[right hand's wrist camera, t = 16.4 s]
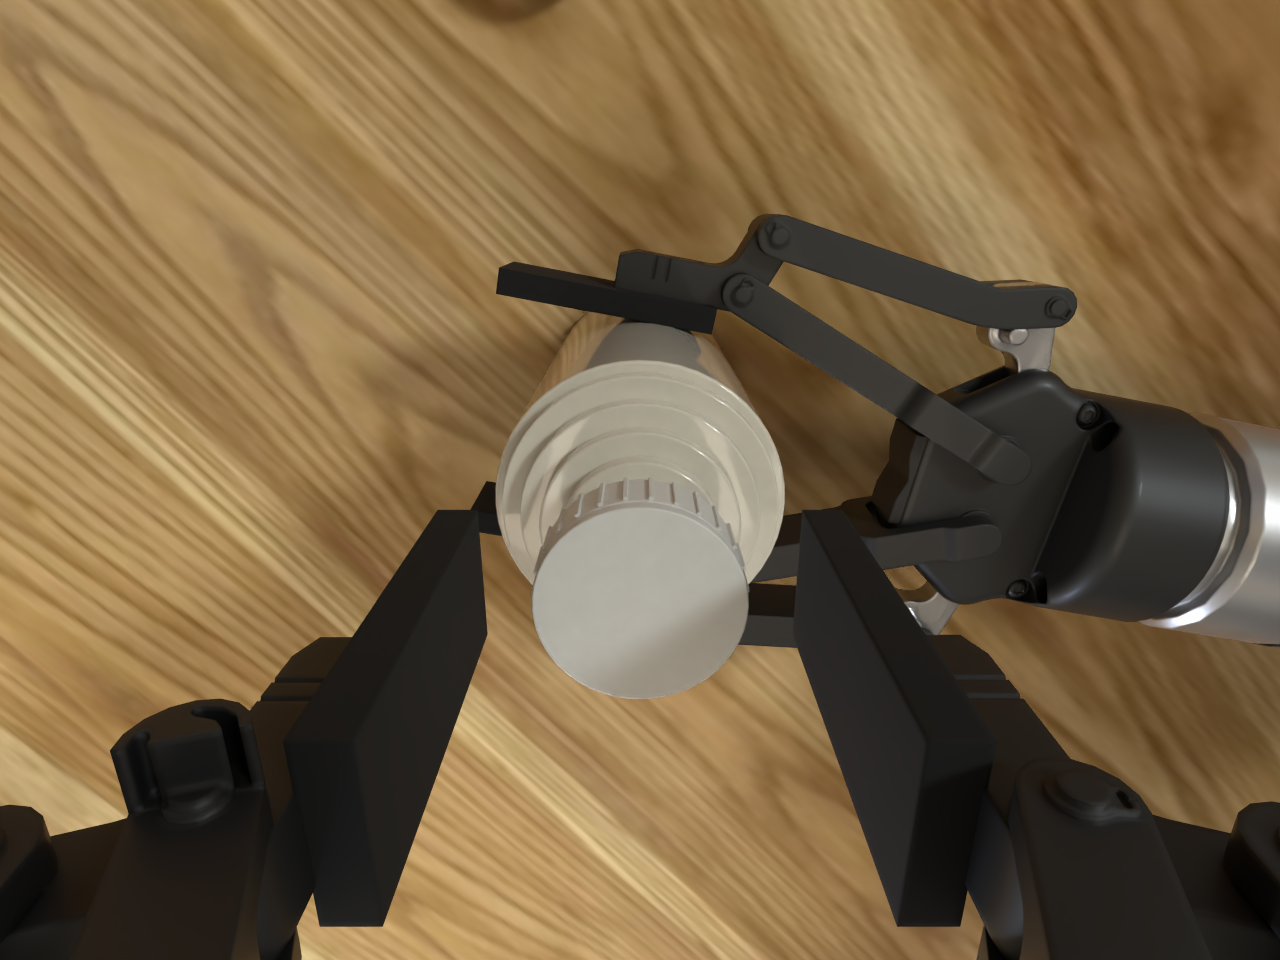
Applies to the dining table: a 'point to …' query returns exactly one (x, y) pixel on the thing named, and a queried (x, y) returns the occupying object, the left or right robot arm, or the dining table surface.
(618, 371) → the bottle
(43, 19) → the dining table surface
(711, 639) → the cap
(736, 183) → the dining table surface
